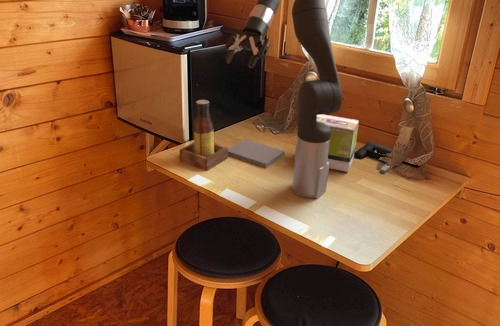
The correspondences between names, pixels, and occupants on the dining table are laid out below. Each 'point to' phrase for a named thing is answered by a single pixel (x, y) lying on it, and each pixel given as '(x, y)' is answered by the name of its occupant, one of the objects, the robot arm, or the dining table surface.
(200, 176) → the dining table surface
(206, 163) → the box
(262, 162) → the slate board
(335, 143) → the tea box
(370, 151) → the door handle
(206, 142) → the sauce bottle
